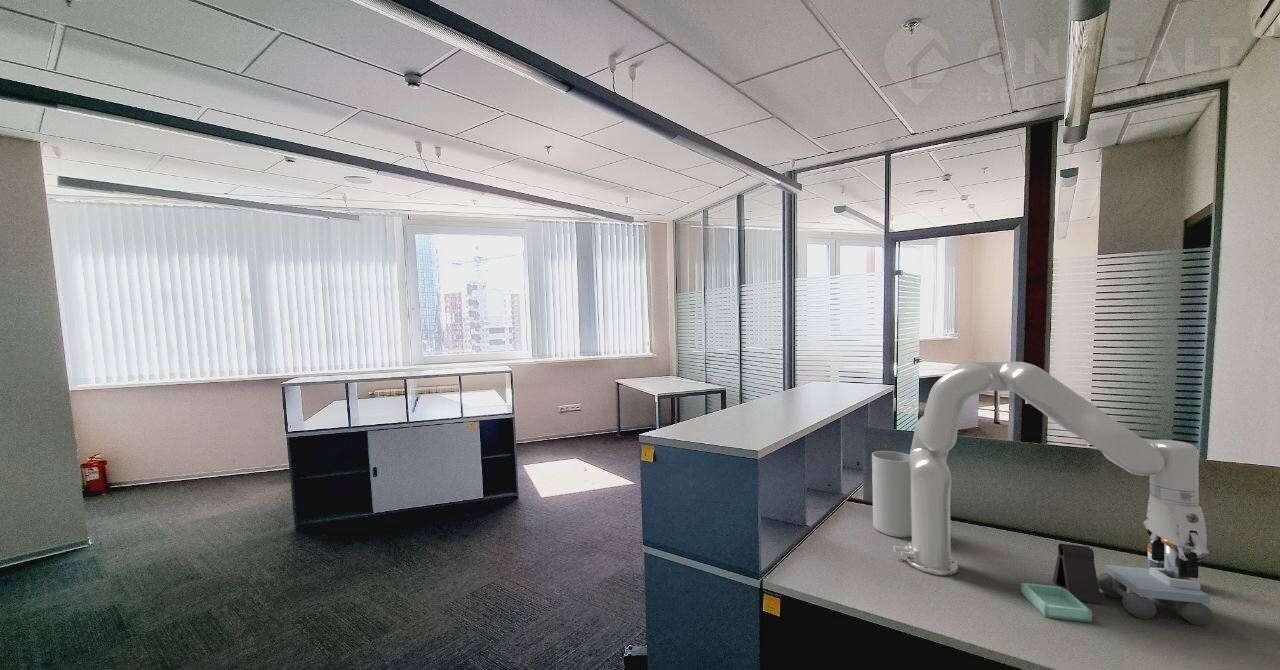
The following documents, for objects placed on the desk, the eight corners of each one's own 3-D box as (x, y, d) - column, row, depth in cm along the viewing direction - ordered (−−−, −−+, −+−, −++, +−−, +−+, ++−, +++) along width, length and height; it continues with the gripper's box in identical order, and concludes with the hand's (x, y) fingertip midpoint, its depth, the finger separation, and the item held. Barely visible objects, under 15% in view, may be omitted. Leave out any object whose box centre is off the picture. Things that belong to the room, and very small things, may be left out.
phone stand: (1102, 605, 110) (1101, 556, 110) (1070, 600, 112) (1070, 552, 112) (1081, 585, 118) (1081, 539, 118) (1052, 581, 120) (1052, 536, 120)
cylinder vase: (907, 523, 157) (906, 451, 157) (921, 539, 145) (920, 462, 144) (868, 520, 160) (867, 450, 159) (879, 536, 148) (877, 460, 147)
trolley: (1213, 627, 101) (1212, 589, 101) (1129, 617, 105) (1129, 581, 105) (1170, 598, 112) (1169, 564, 112) (1095, 590, 116) (1095, 557, 115)
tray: (1045, 617, 106) (1044, 606, 106) (1021, 592, 116) (1021, 582, 115) (1091, 622, 104) (1091, 611, 103) (1063, 597, 113) (1063, 587, 113)
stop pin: (1170, 584, 106) (1170, 542, 105) (1156, 575, 109) (1156, 534, 109) (1192, 587, 105) (1192, 544, 104) (1177, 577, 108) (1177, 536, 108)
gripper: (1231, 509, 97) (1231, 591, 98) (1162, 482, 114) (1162, 552, 114) (1186, 506, 99) (1187, 587, 100) (1125, 480, 116) (1125, 549, 116)
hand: (1174, 567), depth 107 cm, fingers open, 6 cm apart
